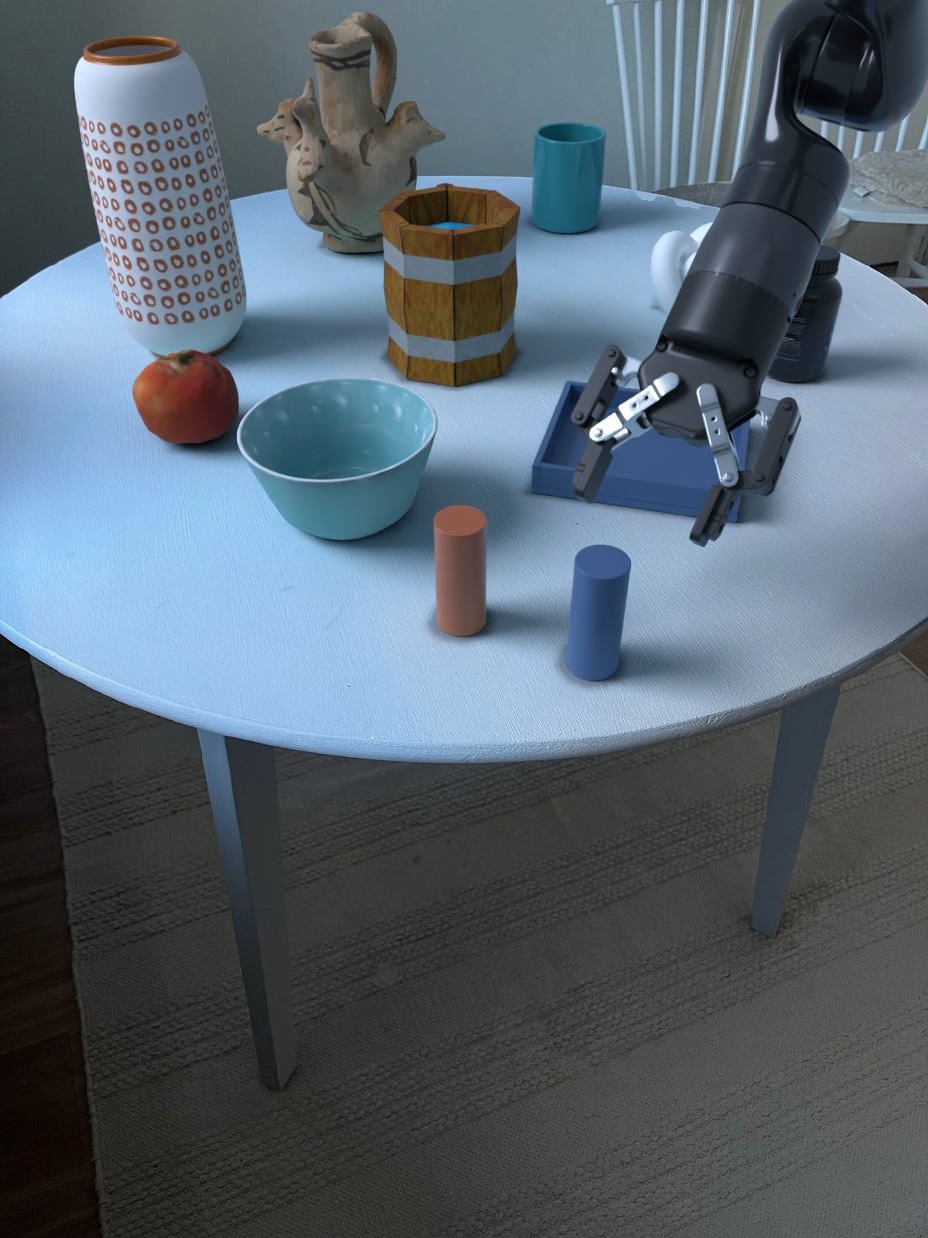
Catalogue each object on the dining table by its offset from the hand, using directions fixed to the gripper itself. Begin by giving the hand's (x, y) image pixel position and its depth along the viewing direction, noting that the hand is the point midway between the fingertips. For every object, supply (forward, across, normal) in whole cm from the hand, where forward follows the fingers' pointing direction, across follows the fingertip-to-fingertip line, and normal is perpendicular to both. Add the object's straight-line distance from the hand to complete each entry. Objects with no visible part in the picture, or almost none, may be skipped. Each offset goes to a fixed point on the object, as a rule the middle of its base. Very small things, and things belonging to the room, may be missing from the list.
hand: (638, 520), depth 67 cm
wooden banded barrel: (-14, -37, +28) cm, 48 cm away
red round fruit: (+6, -46, +7) cm, 47 cm away
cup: (-41, -46, +55) cm, 83 cm away
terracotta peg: (+11, -10, +2) cm, 15 cm away
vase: (-3, -60, +16) cm, 62 cm away
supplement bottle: (-25, -5, +38) cm, 46 cm away
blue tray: (-8, -9, +21) cm, 24 cm away
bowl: (+7, -26, +6) cm, 28 cm away
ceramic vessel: (-24, -64, +38) cm, 78 cm away
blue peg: (+10, 0, +3) cm, 10 cm away
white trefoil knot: (-29, -19, +42) cm, 54 cm away
